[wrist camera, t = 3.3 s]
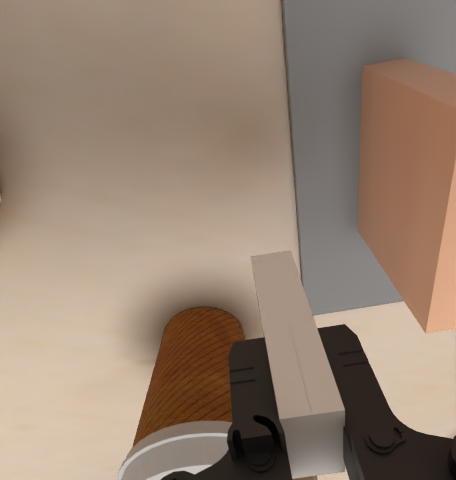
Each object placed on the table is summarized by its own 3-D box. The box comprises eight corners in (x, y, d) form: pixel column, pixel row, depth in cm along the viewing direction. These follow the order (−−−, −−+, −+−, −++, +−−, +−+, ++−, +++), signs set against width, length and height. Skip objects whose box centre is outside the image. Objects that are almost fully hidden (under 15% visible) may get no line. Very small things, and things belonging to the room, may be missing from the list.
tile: (362, 65, 20) (463, 111, 12) (411, 56, 20) (544, 97, 12) (357, 230, 25) (425, 333, 17) (395, 223, 25) (481, 324, 17)
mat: (274, -96, 16) (276, -99, 16) (708, -182, 16) (724, -188, 15) (303, 311, 29) (305, 316, 29) (542, 272, 29) (548, 277, 28)
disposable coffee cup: (287, 319, 30) (332, 485, 20) (222, 388, 34) (232, 555, 24) (179, 270, 27) (166, 439, 17) (121, 353, 31) (83, 528, 21)
